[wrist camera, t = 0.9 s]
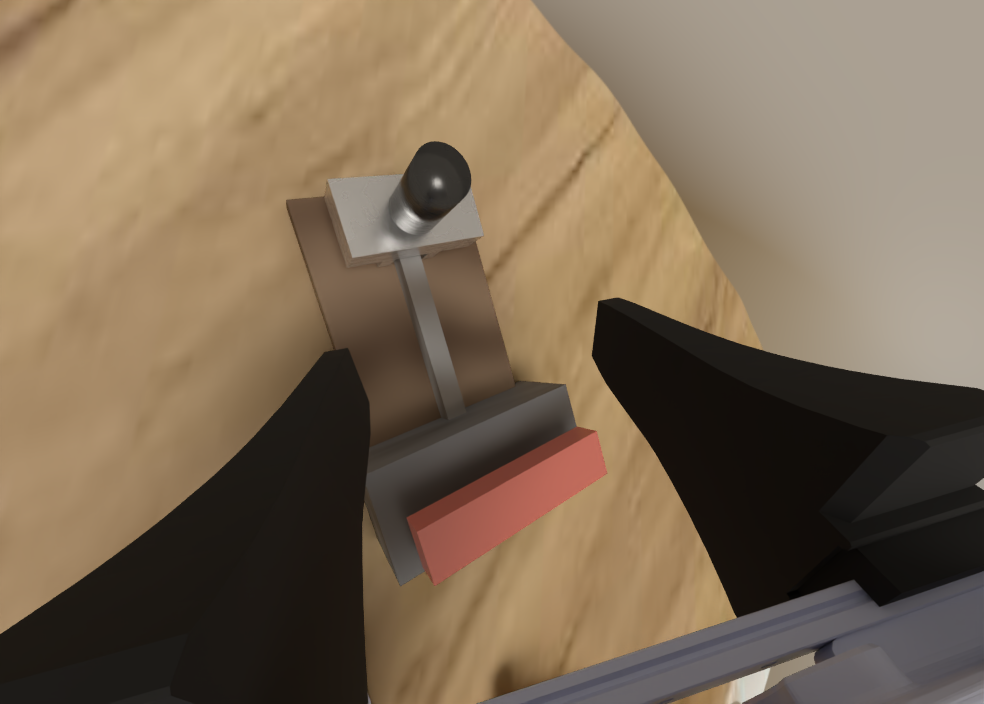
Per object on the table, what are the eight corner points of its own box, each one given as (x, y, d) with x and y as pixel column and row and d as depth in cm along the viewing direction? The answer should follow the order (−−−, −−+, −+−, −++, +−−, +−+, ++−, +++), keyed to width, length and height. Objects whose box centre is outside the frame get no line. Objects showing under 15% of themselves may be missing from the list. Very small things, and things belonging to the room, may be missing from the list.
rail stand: (539, 452, 27) (587, 469, 22) (377, 539, 21) (400, 586, 17) (467, 190, 24) (505, 151, 20) (265, 209, 19) (256, 162, 14)
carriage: (459, 252, 22) (525, 208, 16) (343, 273, 19) (368, 229, 13) (443, 195, 22) (504, 126, 16) (322, 207, 19) (337, 127, 12)
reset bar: (587, 466, 20) (607, 473, 19) (422, 567, 16) (434, 586, 14) (576, 426, 20) (596, 431, 19) (406, 517, 15) (416, 531, 14)
